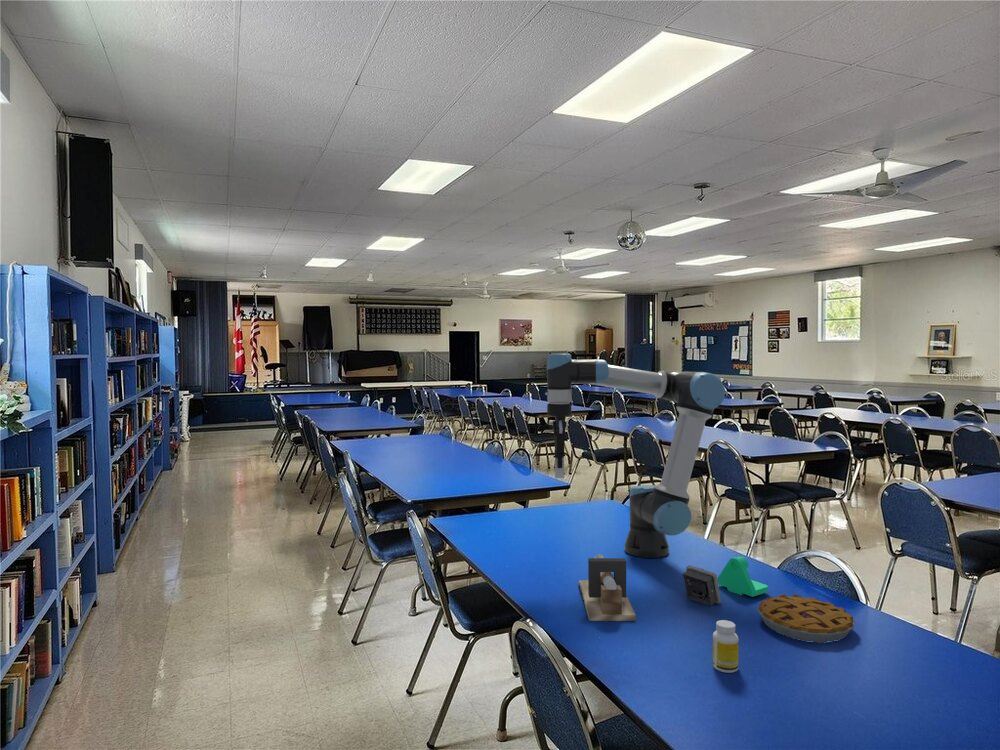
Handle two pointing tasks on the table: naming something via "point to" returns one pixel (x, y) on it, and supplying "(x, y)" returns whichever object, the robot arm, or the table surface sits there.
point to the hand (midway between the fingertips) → (559, 477)
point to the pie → (805, 618)
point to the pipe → (607, 578)
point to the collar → (605, 566)
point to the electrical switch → (701, 585)
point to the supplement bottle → (725, 647)
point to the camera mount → (740, 578)
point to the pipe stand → (607, 604)
